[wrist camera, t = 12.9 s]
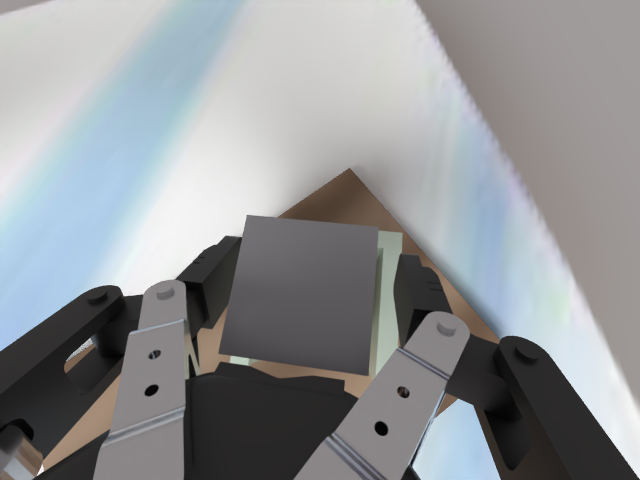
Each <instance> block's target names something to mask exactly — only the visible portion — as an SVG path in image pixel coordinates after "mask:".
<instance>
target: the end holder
mask: <svg viewBox="0 0 640 480" xmlns="http://www.w3.org/2000/svg"><path fill="white" fill-rule="evenodd" d="M402 235H403V233H400V232H389V231H379V232H378V247H377V261H376V275H375V290H374V304H373V319H372V333H371V347H370V362H369V374H370V376H371V378H372V380H373V379H374V378H375V377H376V375H377V374H378V373H379V371H380V370H381V369H382V367H383V366H384V365H385V363H386V362H387V360H388V359H389V358H390V356H391V355H392V354H393V352H394V351H395V350H396V349H397V348H398V325H397V318H396V311H395V303H394V296H393V287H394V280H395V275H396V270H397V265H398V260H399V255H400V253H402ZM258 361H260V360H256V359H249V358H243V357H236V356H231V358H230V363H234V364H241V365H247V366H250V365H252V364H254V363H256V362H258Z"/></svg>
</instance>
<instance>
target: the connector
mask: <svg viewBox="0 0 640 480" xmlns="http://www.w3.org/2000/svg"><path fill="white" fill-rule="evenodd" d="M378 232H379V227H374V226H363V225H352V224H341V223H330V222H319V221H307V220H296V219H285V218H274V217H263V216H252V215H247V218H246V222H245V227H244V232H243V237H242V242H241V246H240V251H239V256H238V261H237V265H236V270H235V275H234V280H233V285H232V289H231V294H230V299H229V304H228V308H227V313H226V318H225V323H224V328H223V332H222V337H221V342H220V347H219V351H218V354H222V355H229V356H236V357H243V358H249V359H256V360H263V361H269V362H276V363H283V364H290V365H296V366H303V367H310V368H316V369H323V370H330V371H337V372H343V373H350V374H357V375H363V376H369V362H370V347H371V333H372V319H373V304H374V290H375V275H376V261H377V247H378Z"/></svg>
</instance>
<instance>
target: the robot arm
mask: <svg viewBox="0 0 640 480" xmlns="http://www.w3.org/2000/svg"><path fill="white" fill-rule="evenodd" d="M241 242H242V237H235V236H225V237H224V238H223V239H222V240H221V241H220V242H219V243H218V244H217V245H213V246H211V247H209V248H207V249H205V250H204V251H203V252H202V253H201V254H200V255H199V256H198V258H196V259H195V260H194V261H193V262H192V263H191V264H190V265H189V266H188V267H187V268H186V269H185V270H184V271H183V272H182V273H181V274H180V275H179V276H178V277H177V278H176V279H175V280H167V281H162V282H159V283H157V284H155V285H153V286H151V287H150V288H149V289H147V290H146V292H145V293H144V295H134V296H123V294H122V291H121V289H120V288H119V287H117V286H113V285H106V286H100V287H97V288H94V289H91V290H89V291H87V292H85V293H83V294H81V295H80V296H79V297H77V298H76V299H74V300H73V301H71V302H70V303H69V304H67V305H66V306H64V307H63V308H61V309H60V310H59V311H57V312H56V313H54V314H53V315H52V316H50V317H49V318H47V319H46V320H44V321H43V322H42V323H40V324H39V325H37V326H36V327H34V328H33V329H32V330H30V331H29V332H27V333H26V334H25V335H23V336H22V337H20V338H19V339H17V340H16V341H15V342H13V343H12V344H10V345H9V346H7V347H6V348H5V349H3V350H2V351H0V480H421V479H420V478H419V476H418V475H417V473H416V472H415V471H414V469H413V468H412V467H413V465H414V463H415V460H416V458H417V456H418V454H419V452H420V449H421V447H422V445H423V442H424V440H425V438H426V436H427V433H428V431H429V429H430V427H431V425H432V422H433V420H434V418H435V416H436V414H437V412H438V409H439V407H440V405H441V403H442V401H443V399H444V396H445V394H446V393H447V394H450V395H452V396H454V397H456V398H459V399H461V400H463V401H465V402H468V403H470V404H472V405H473V406H474V408H475V411H476V414H477V417H478V419H479V422H480V425H481V427H482V430H483V433H484V435H485V438H486V441H487V443H488V446H489V449H490V452H491V454H492V457H493V460H494V462H495V465H496V468H497V470H498V473H499V476H500V479H501V480H640V479H639V478H638V477H637V475H636V474H635V473H634V471H633V470H632V468H631V467H630V466H629V464H628V463H627V461H626V460H625V459H624V457H623V456H622V455H621V453H620V452H619V450H618V449H617V448H616V446H615V445H614V444H613V442H612V441H611V439H610V438H609V437H608V435H607V434H606V433H605V431H604V430H603V428H602V427H601V426H600V424H599V423H598V422H597V420H596V419H595V417H594V416H593V415H592V413H591V412H590V410H589V409H588V408H587V406H586V405H585V404H584V402H583V401H582V399H581V398H580V397H579V395H578V394H577V393H576V391H575V390H574V388H573V387H572V386H571V384H570V383H569V382H568V380H567V379H566V377H565V376H564V375H563V373H562V372H561V370H560V369H559V368H558V366H557V365H556V364H555V362H554V361H553V359H552V358H551V357H550V356H549V354H548V353H547V352H546V351H545V350H544V349H542V348H541V347H540V346H538V345H537V344H535V343H533V342H532V341H529V340H527V339H525V338H522V337H518V336H506V337H503V338H502V339H501V340H500V342H499V344H497V343H494V342H491V341H488V340H485V339H483V338H480V337H477V336H475V335H473V334H471V333H470V331H469V328H468V326H467V325H466V324H465V323H464V322H463V321H462V320H461V319H460V318H458V317H456V316H455V315H453V312H452V310H451V307H450V305H449V302H448V300H447V297H446V294H445V292H444V289H443V287H442V285H441V282H440V279H439V277H438V275H437V274H436V273H435V272H434V271H433V270H432V269H431V268H430V267H423V266H422V264H421V261H420V258H419V255H416V254H406V253H400V255H399V260H398V265H397V270H396V275H395V280H394V287H393V296H394V303H395V311H396V318H397V325H398V332H399V340H400V347H398V348H397V349H396V350H395V351H394V352H393V354H392V355H391V356H390V358H389V359H388V360H387V362H386V363H385V365H384V366H383V367H382V369H381V370H380V371H379V373H378V374H377V375H376V377H375V378H374V379H373V381H372V382H371V383H370V385H369V386H368V387H367V389H366V390H365V392H364V393H363V394H362V396H361V397H360V398H357V397H356V396H354V395H352V394H351V393H348V392H346V391H344V386H345V380H341V379H334V378H328V377H321V376H314V375H311V376H300V377H289V378H277V377H274V376H272V375H270V374H267V373H265V372H263V371H260V370H258V369H256V368H253V367H251V366H247V365H241V364H234V363H227V362H221V361H220V363H219V364H218V366H217V368H216V370H215V372H209V373H204V374H202V370H201V358H200V346H199V337H198V332H199V330H200V329H201V328H205V329H213V327H214V326H215V324H216V323H217V321H218V319H219V318H220V316H221V315H222V313H223V312H224V310H225V308H226V307H227V305H228V304H229V299H230V294H231V289H232V285H233V280H234V275H235V270H236V265H237V261H238V256H239V251H240V246H241ZM89 338H91V340H92V342H93V344H94V346H95V347H94V348H93V349H92V350H91V351H90V352H89V353H87V354H86V355H85V356H84V357H83V358H82V359H81V360H80V361H79V362H78V363H77V364H76V365H74V366H73V367H72V368H71V369H70V370H69V371H68V372H67V373H65V371H64V365H65V362H66V360H67V359H68V357H69V356H70V355H71V354H72V353H73V352H74V351H76V350H77V349H78V348H79V347H80V346H81V345H82V344H84V343H85V342H86V341H87V340H88V339H89ZM120 374H121V377H120V382H119V387H118V392H117V397H116V403H115V408H114V413H113V418H112V423H111V428H110V429H109V430H107V431H106V432H104V433H103V434H101V435H100V436H98V437H96V438H95V439H93V440H92V441H90V442H89V443H87V444H86V445H84V446H83V447H81V448H80V449H78V450H76V451H75V452H73V453H72V454H70V455H69V456H67V457H66V458H64V459H63V460H61V461H59V462H58V463H56V464H55V465H53V466H52V467H50V468H49V469H47V470H46V471H44V472H42V473H41V474H39V475H38V476H36V475H37V474H38V472H39V470H40V468H41V465H42V461H43V460H44V459H45V458H46V457H47V456H48V455H49V453H50V452H51V451H52V450H53V449H54V448H55V447H56V446H57V445H58V443H59V442H60V441H61V440H62V439H63V438H64V437H65V436H66V434H67V433H68V432H69V431H70V430H71V429H72V428H73V427H74V425H75V424H76V423H77V422H78V421H79V420H80V419H81V418H82V416H83V415H84V414H85V413H86V412H87V411H88V410H89V409H90V407H91V406H92V405H93V404H94V403H95V402H96V401H97V400H98V398H99V397H100V396H101V395H102V394H103V393H104V392H105V391H106V389H107V388H108V387H109V386H110V385H111V384H112V383H113V382H114V380H115V379H116V378H117V377H118V376H119V375H120Z"/></svg>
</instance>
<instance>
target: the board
mask: <svg viewBox="0 0 640 480" xmlns="http://www.w3.org/2000/svg"><path fill="white" fill-rule="evenodd" d="M277 218H285V219H296V220H307V221H319V222H330V223H341V224H352V225H363V226H374V227H379V231H389V232H400V233H403V235H402V253H406V254H416V255H419V258H420V261H421V264H422V266H423V267H430V268H431V269H432V270H433V271H434V272H435V273H436V274H437V275H438V277H439V279H440V282H441V285H442V287H443V289H444V292H445V294H446V297H447V300H448V302H449V305H450V307H451V310H452V312H453V315H455V316H456V317H458V318H460V319H461V320H462V321H463V322H464V323H465V324H466V325H467V326H468V328H469V331H470V333H471V334H473V335H475V336H477V337H480V338H483V339H485V340H488V341H491V342H494V343H497V344H499V342H500V340H499V338H498V337H497V336H496V335H495V334H494V333H493V332H492V330H491V329H490V328H489V327H488V326H487V325H486V324H485V322H484V321H483V320H482V319H481V318H480V317H479V316H478V314H477V313H476V312H475V311H474V310H473V309H472V308H471V306H470V305H469V304H468V303H467V302H466V301H465V300H464V298H463V297H462V296H461V295H460V294H459V293H458V292H457V290H456V289H455V288H454V287H453V286H452V285H451V284H450V282H449V281H448V280H447V279H446V278H445V277H444V275H443V274H442V273H441V272H440V271H439V270H438V269H437V267H436V266H435V265H434V264H433V263H432V262H431V261H430V259H429V258H428V257H427V256H426V255H425V254H424V253H423V251H422V250H421V249H420V248H419V247H418V246H417V245H416V243H415V242H414V241H413V240H412V239H411V238H410V237H409V235H408V234H407V233H406V232H405V231H404V230H403V229H402V227H401V226H400V225H399V224H398V223H397V222H396V221H395V219H394V218H393V217H392V216H391V215H390V214H389V213H388V211H387V210H386V209H385V208H384V207H383V206H382V204H381V203H380V202H379V201H378V200H377V199H376V198H375V196H374V195H373V194H372V193H371V192H370V191H369V190H368V188H367V187H366V186H365V185H364V184H363V183H362V182H361V180H360V179H359V178H358V177H357V176H356V175H355V174H354V172H353V171H352V170H351V169H350V168H349V169H348V170H346V171H345V172H343V173H342V174H340V175H339V176H337V177H336V178H334V179H333V180H331V181H330V182H329V183H327V184H326V185H324V186H323V187H321V188H320V189H318V190H317V191H315V192H314V193H312V194H311V195H310V196H308V197H307V198H305V199H304V200H302V201H301V202H299V203H298V204H296V205H295V206H293V207H292V208H291V209H289V210H288V211H286V212H285V213H283V214H282V215H280V216H279V217H277ZM227 308H228V305H227V307H226V308H225V310H224V312H223V313H222V315H221V316H220V318H219V319H218V321H217V323H216V324H215V326H214V327H213V329H205V328H201V329H200V330H199V332H198V337H199V346H200V358H201V370H202V374H204V373H209V372H215V370H216V368H217V366H218V364H219V363H220V361H221V362H227V363H230V358H231V356H229V355H222V354H218V351H219V347H220V342H221V337H222V332H223V328H224V323H225V318H226V313H227ZM94 347H95V346H94V344H92V345H91V346H89V347H88V348H86V349H85V350H83V351H82V352H80V353H79V354H77V355H76V356H74V357H73V358H72V359H70V360H69V361H67V362H66V363H65V365H64V371H65V373H67V372H68V371H69V370H70V369H71V368H72V367H73V366H74V365H76V364H77V363H78V362H79V361H80V360H81V359H82V358H83V357H84V356H85V355H86V354H87V353H89V352H90V351H91V350H92V349H93V348H94ZM398 347H400V340H399V332H398ZM250 366H251V367H253V368H256V369H258V370H260V371H263V372H265V373H267V374H270V375H272V376H274V377H277V378H289V377H300V376H311V375H314V376H321V377H328V378H334V379H341V380H345V386H344V391H346V392H348V393H351V394H352V395H354V396H356V397H357V398H360V397H361V396H362V394H363V393H364V392H365V390H366V389H367V387H368V386H369V385H370V383H371V382H372V381H373V380H372V378H371V376H370V374H369V376H363V375H357V374H350V373H343V372H337V371H330V370H323V369H316V368H310V367H303V366H296V365H290V364H283V363H276V362H269V361H263V360H260V361H258V362H256V363H254V364H252V365H250ZM120 377H121V374H120V375H119V376H118V377H117V378H116V379H115V380H114V382H113V383H112V384H111V385H110V386H109V387H108V388H107V389H106V391H105V392H104V393H103V394H102V395H101V396H100V397H99V398H98V400H97V401H96V402H95V403H94V404H93V405H92V406H91V407H90V409H89V410H88V411H87V412H86V413H85V414H84V415H83V416H82V418H81V419H80V420H79V421H78V422H77V423H76V424H75V425H74V427H73V428H72V429H71V430H70V431H69V432H68V433H67V434H66V436H65V437H64V438H63V439H62V440H61V441H60V442H59V443H58V445H57V446H56V447H55V448H54V449H53V450H52V451H51V452H50V453H49V455H48V456H47V457H46V458H45V459H44V460H43V461H42V464H43V467H44V471H46V470H47V469H49V468H50V467H52V466H53V465H55V464H56V463H58V462H59V461H61V460H63V459H64V458H66V457H67V456H69V455H70V454H72V453H73V452H75V451H76V450H78V449H80V448H81V447H83V446H84V445H86V444H87V443H89V442H90V441H92V440H93V439H95V438H96V437H98V436H100V435H101V434H103V433H104V432H106V431H107V430H109V429H110V428H111V423H112V418H113V413H114V408H115V403H116V397H117V392H118V387H119V382H120ZM457 399H458V398H456V397H454V396H452V395H450V394H447V393H446V394H445V396H444V399H443V401H442V403H441V405H440V407H439V409H438V412H437V414H436V416H435V418H436V417H437V416H438V415H439V414H440V413H442V412H443V411H444V410H445V409H446V408H448V407H449V406H450V405H451V404H452V403H454V402H455V401H456V400H457Z"/></svg>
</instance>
